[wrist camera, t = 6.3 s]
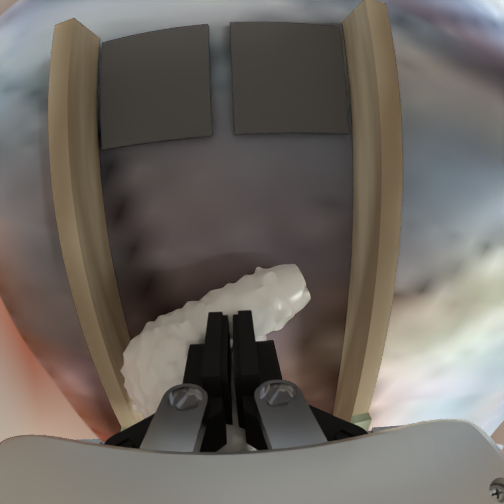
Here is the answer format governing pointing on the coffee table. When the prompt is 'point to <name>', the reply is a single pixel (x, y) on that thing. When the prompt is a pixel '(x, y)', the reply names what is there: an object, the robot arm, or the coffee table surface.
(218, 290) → the sitting furry creature
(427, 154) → the coffee table surface
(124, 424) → the lane
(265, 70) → the mats
